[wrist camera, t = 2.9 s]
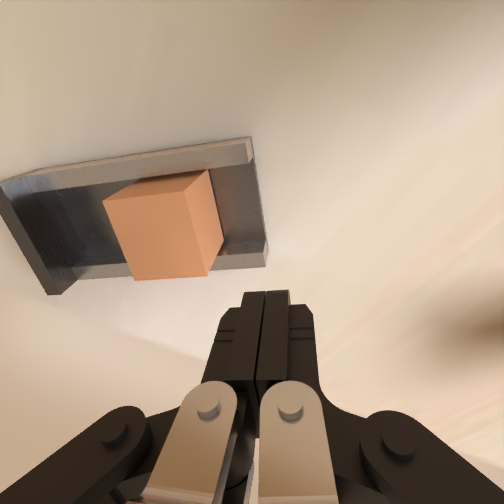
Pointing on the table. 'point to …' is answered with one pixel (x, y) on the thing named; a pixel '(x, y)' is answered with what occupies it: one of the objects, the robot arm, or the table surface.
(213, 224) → the block
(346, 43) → the table surface
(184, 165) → the chute
